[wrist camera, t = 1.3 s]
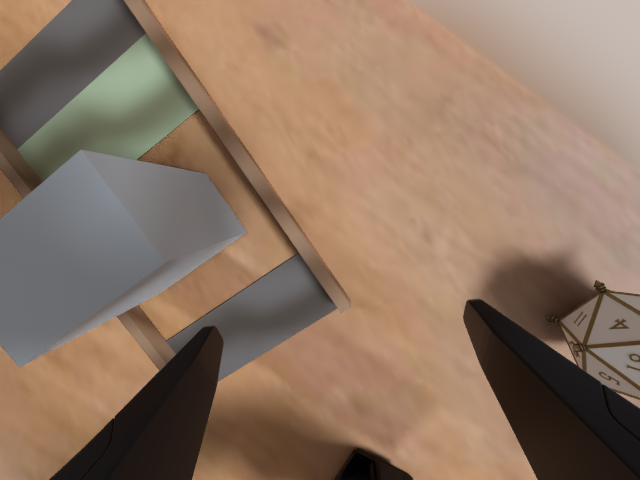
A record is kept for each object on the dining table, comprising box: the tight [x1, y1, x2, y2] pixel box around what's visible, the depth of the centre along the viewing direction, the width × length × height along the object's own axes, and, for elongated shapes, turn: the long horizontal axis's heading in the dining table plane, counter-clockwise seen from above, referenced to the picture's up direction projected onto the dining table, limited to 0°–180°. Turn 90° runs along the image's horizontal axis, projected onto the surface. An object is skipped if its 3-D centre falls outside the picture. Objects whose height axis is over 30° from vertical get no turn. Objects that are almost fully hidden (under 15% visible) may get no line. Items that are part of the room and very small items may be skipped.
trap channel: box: [0, 0, 351, 381], centre depth 23 cm, size 33×18×2 cm, turn 34°
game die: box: [546, 280, 640, 400], centre depth 18 cm, size 9×8×10 cm
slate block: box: [0, 150, 247, 367], centre depth 18 cm, size 6×10×11 cm, turn 124°
